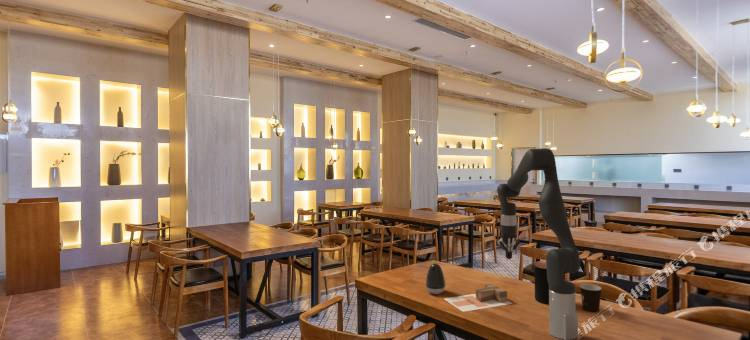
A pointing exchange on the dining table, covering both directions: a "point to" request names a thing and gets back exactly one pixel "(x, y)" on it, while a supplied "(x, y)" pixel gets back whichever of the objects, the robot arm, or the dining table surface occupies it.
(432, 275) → the black egg-shaped piece
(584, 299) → the coffee mug
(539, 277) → the coffee jar
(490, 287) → the t block
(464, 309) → the mat
